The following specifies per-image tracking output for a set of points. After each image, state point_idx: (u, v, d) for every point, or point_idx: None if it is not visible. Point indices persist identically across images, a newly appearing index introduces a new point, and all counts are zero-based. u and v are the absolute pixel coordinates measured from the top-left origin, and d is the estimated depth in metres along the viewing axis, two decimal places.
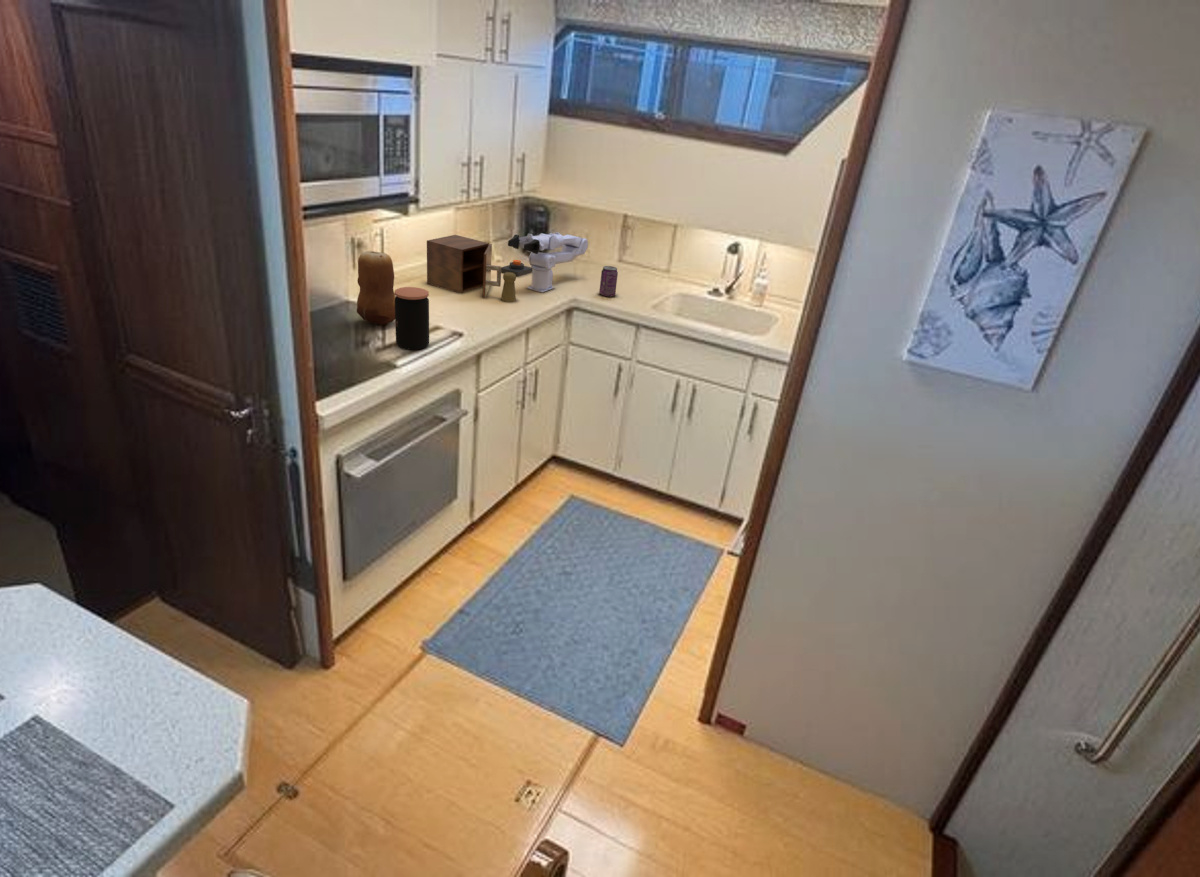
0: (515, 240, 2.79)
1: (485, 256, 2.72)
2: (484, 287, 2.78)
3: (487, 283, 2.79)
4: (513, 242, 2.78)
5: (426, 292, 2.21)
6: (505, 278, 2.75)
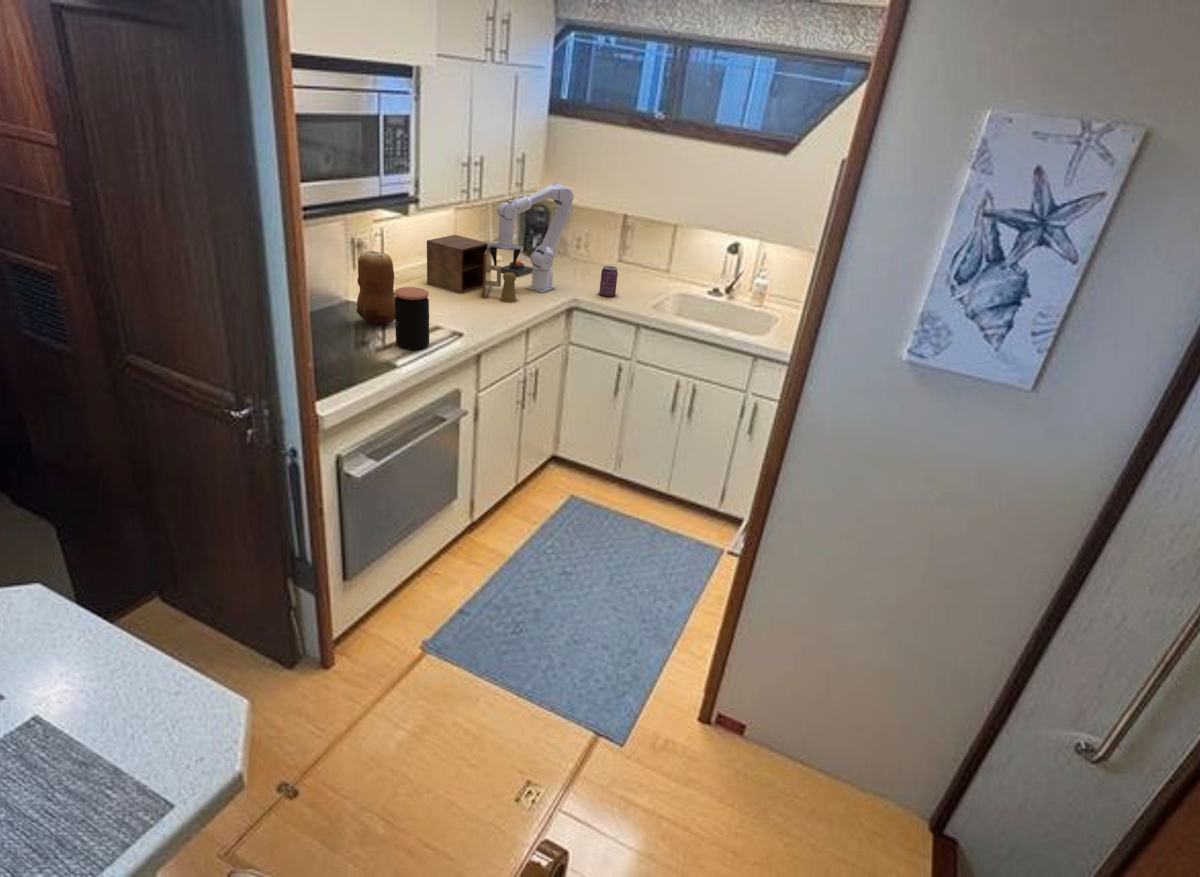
0: (495, 256, 2.83)
1: (485, 256, 2.72)
2: (484, 287, 2.78)
3: (487, 283, 2.79)
4: (496, 259, 2.84)
5: (426, 292, 2.21)
6: (505, 278, 2.75)
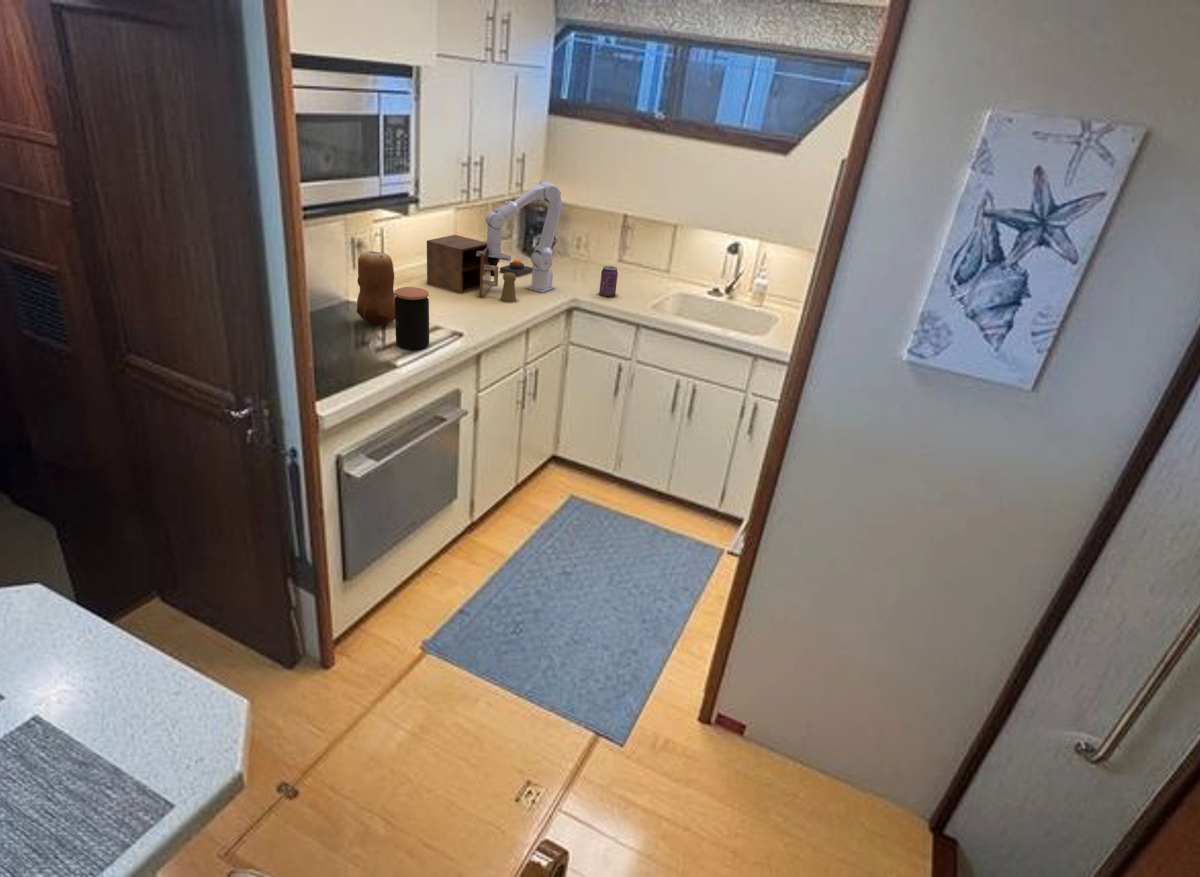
0: None
1: (482, 256, 2.72)
2: (481, 287, 2.78)
3: (484, 283, 2.79)
4: None
5: (426, 292, 2.20)
6: (505, 278, 2.75)
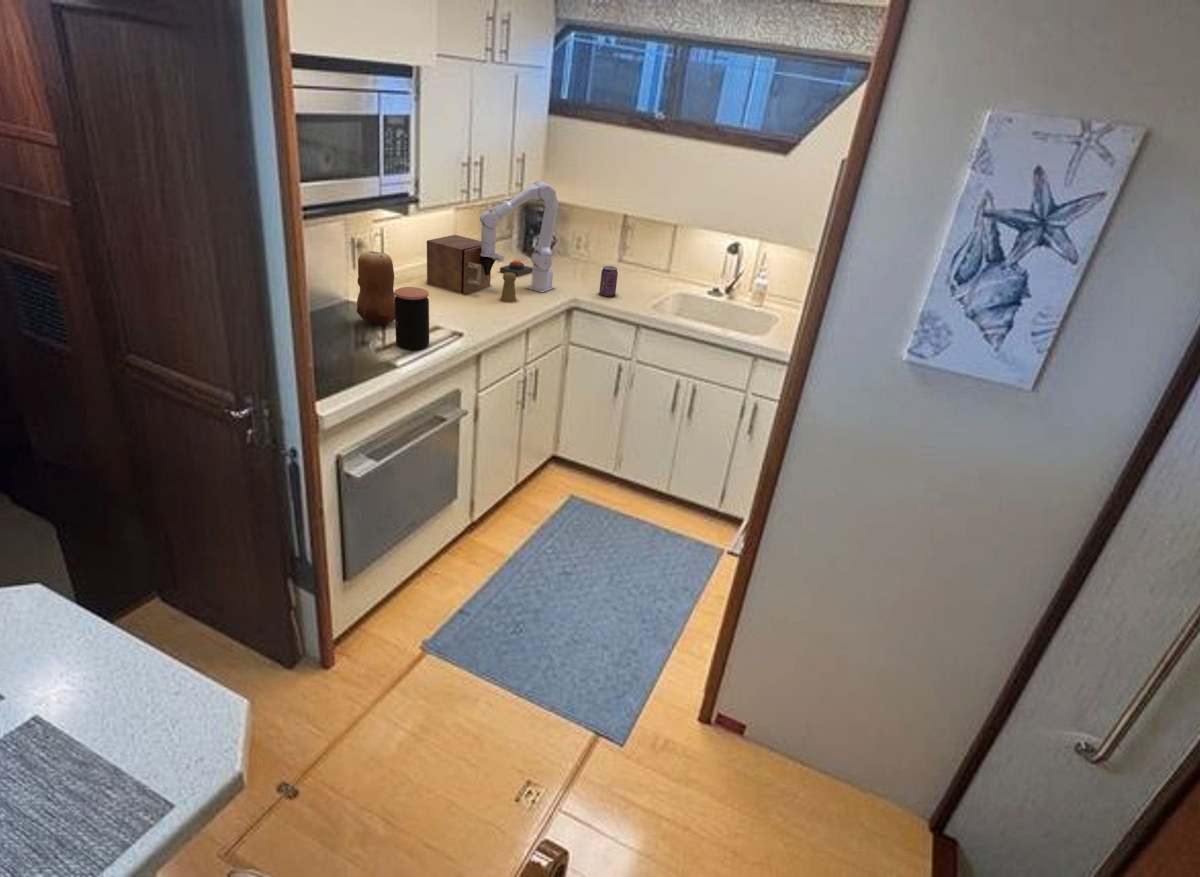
0: None
1: (465, 253, 2.74)
2: (464, 284, 2.79)
3: (468, 280, 2.79)
4: None
5: (426, 292, 2.20)
6: (505, 278, 2.75)
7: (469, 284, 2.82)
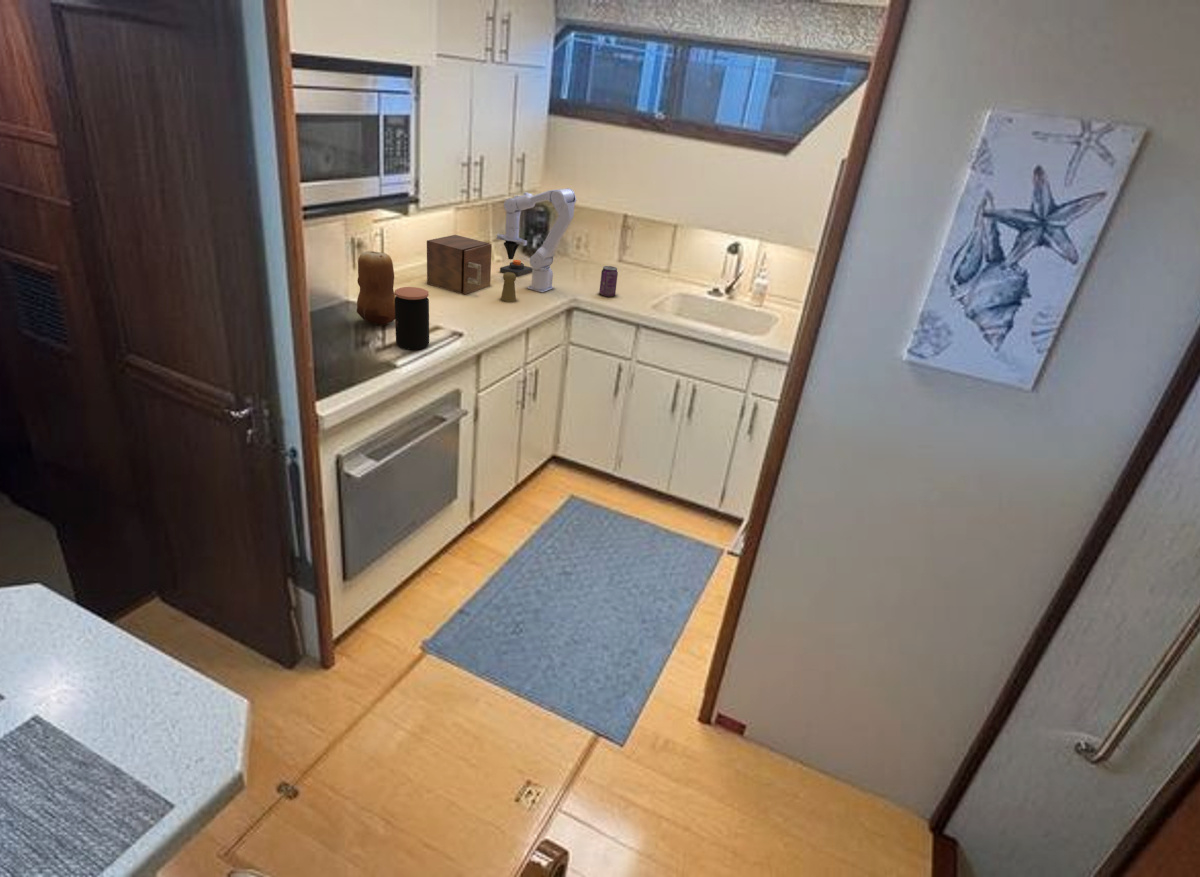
0: None
1: (465, 253, 2.74)
2: (464, 284, 2.79)
3: (468, 280, 2.79)
4: None
5: (426, 292, 2.21)
6: (505, 278, 2.75)
7: (469, 284, 2.82)
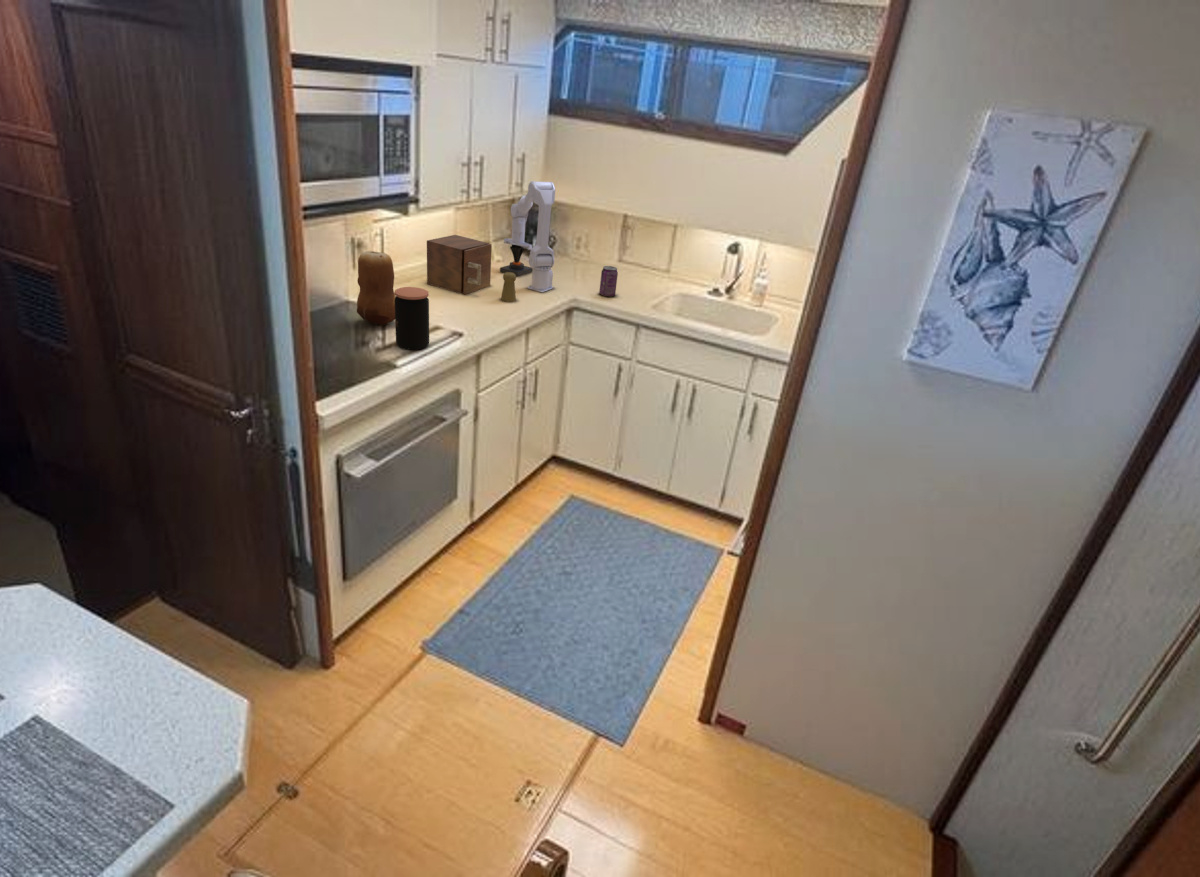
0: None
1: (465, 253, 2.74)
2: (464, 284, 2.79)
3: (468, 280, 2.79)
4: None
5: (426, 292, 2.20)
6: (505, 278, 2.75)
7: (469, 284, 2.82)
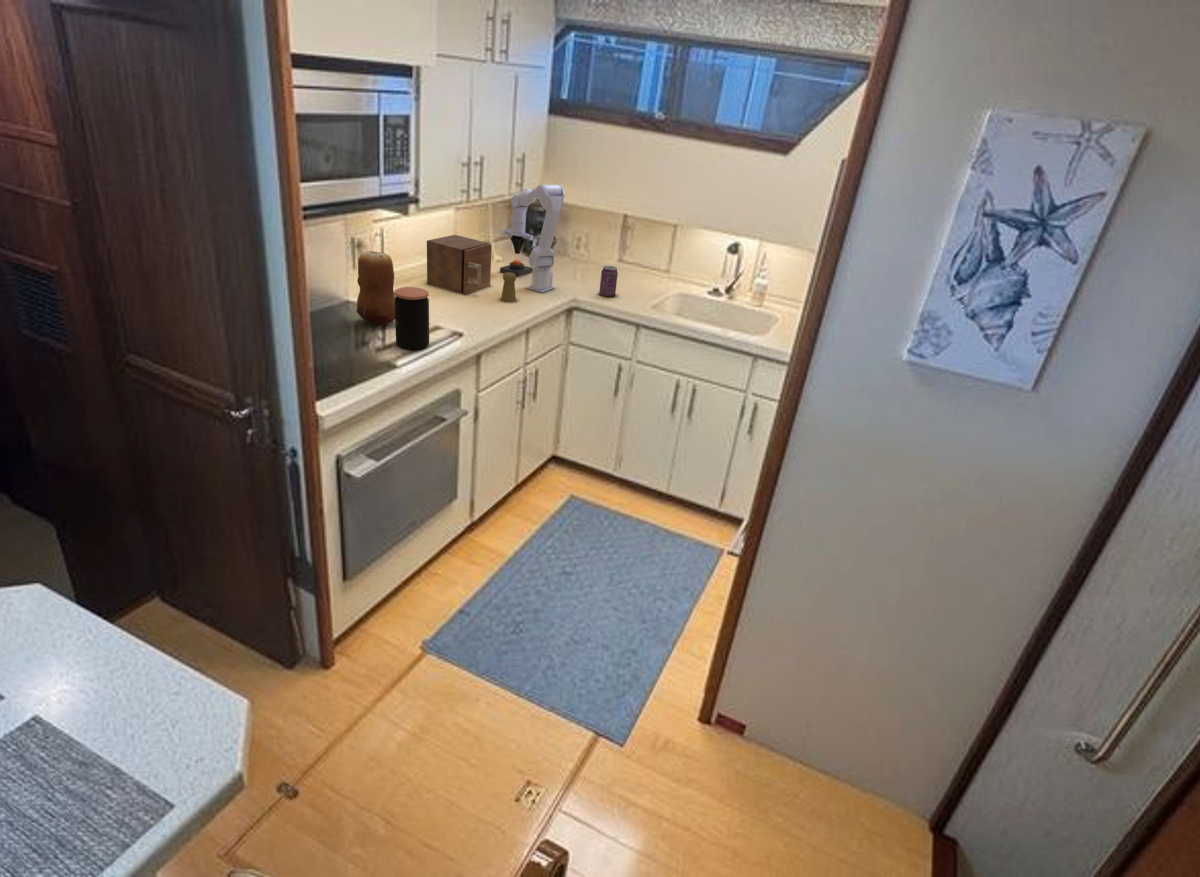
0: None
1: (465, 253, 2.74)
2: (464, 284, 2.79)
3: (468, 280, 2.79)
4: None
5: (426, 292, 2.20)
6: (505, 278, 2.75)
7: (469, 284, 2.82)
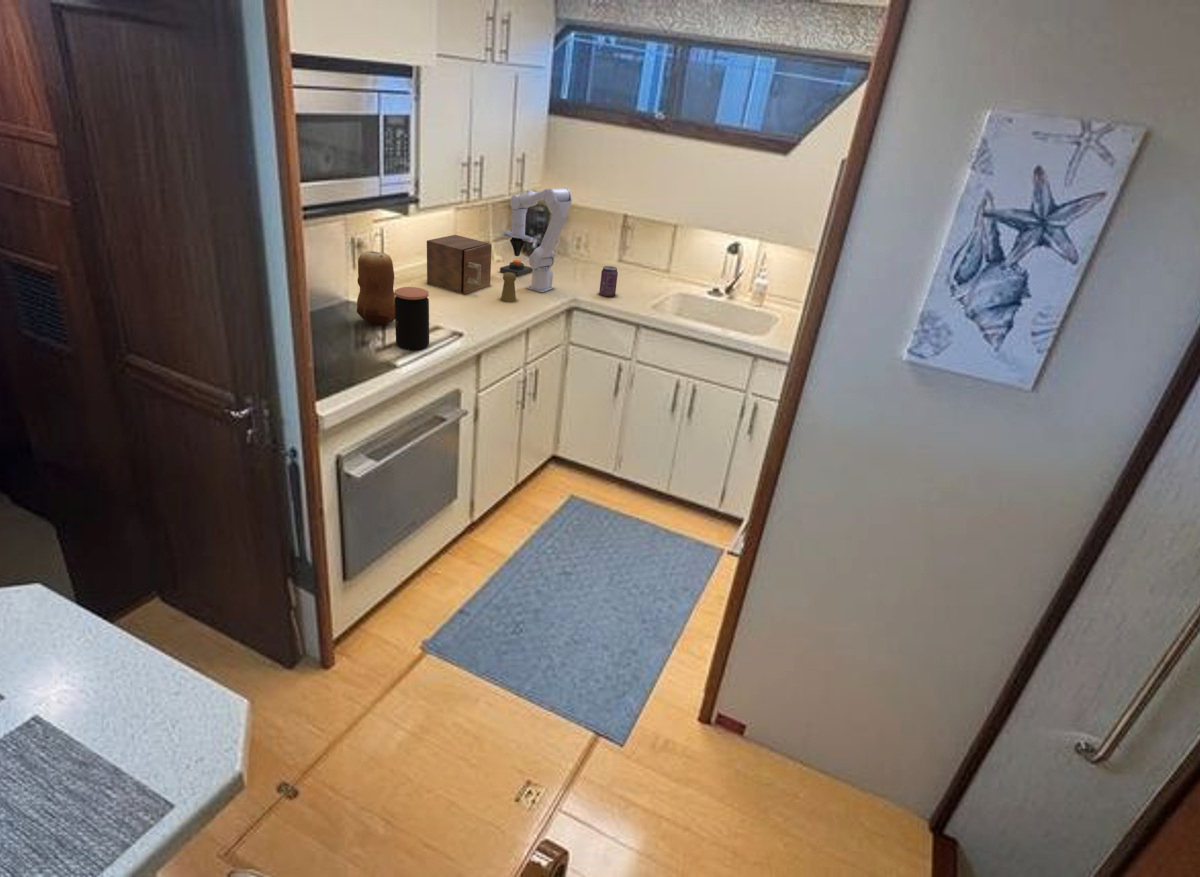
0: None
1: (465, 253, 2.74)
2: (464, 284, 2.79)
3: (468, 280, 2.79)
4: None
5: (426, 292, 2.21)
6: (505, 278, 2.75)
7: (469, 284, 2.82)
